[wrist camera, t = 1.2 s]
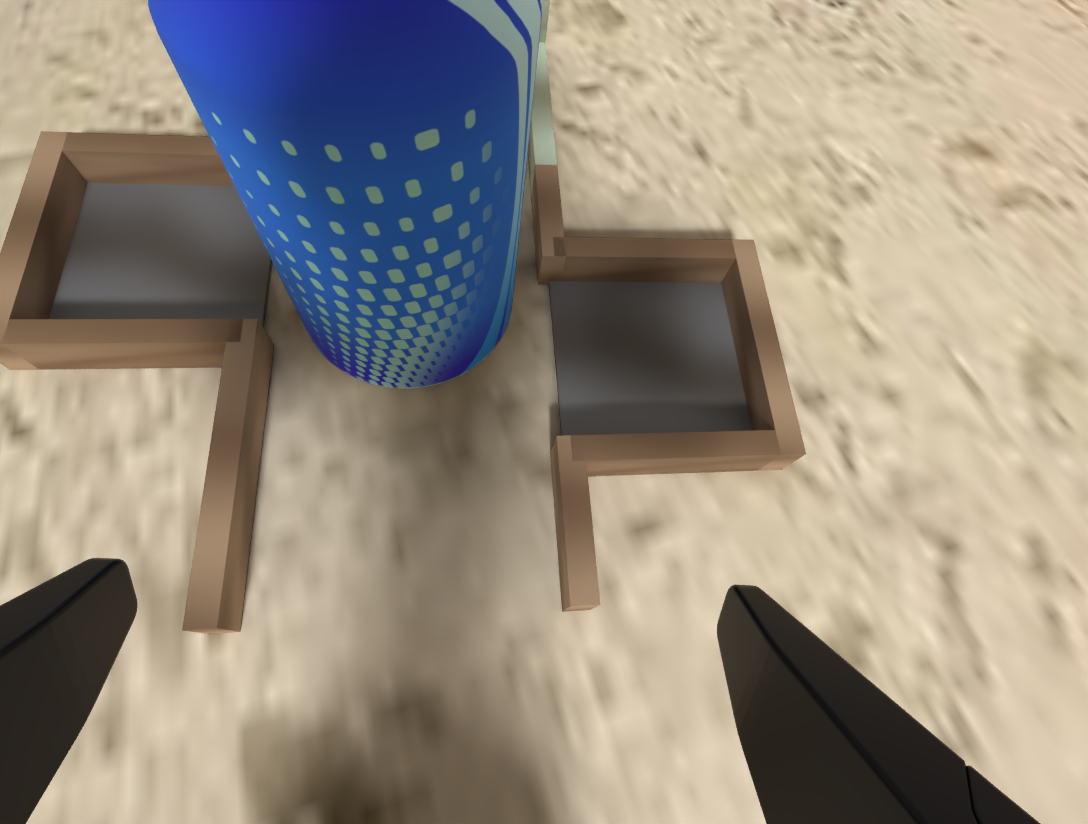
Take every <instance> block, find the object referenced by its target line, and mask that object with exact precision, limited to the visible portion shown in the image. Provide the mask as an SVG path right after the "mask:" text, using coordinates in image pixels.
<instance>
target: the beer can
mask: <svg viewBox="0 0 1088 824" xmlns="http://www.w3.org/2000/svg"><path fill="white" fill-rule="evenodd" d="M147 1H148V6H149V10H150V13H151V16H152V19H153V21H154V24H155V27H156V29H157V32H158V34H159V36H160V38H161V40H162V42H163V44H164V46H165V48H166V50H167V52H168V54H169V56H170V58H171V60H172V62H173V64H174V66H175V68H176V70H177V72H178V74H179V76H180V78H181V80H182V82H183V84H184V86H185V88H186V90H187V92H188V94H189V96H190V98H191V100H192V102H193V104H194V106H195V108H196V110H197V112H198V114H199V116H200V118H201V120H202V122H203V124H204V126H205V128H206V130H207V132H208V134H209V136H210V138H211V140H212V142H213V144H214V146H215V148H216V150H217V152H218V154H219V156H220V158H221V160H222V162H223V164H224V166H225V168H226V170H227V172H228V174H229V176H230V178H231V180H232V182H233V184H234V186H235V188H236V190H237V192H238V194H239V196H240V198H241V200H242V202H243V204H244V206H245V208H246V210H247V212H248V214H249V216H250V218H251V220H252V222H253V224H254V226H255V228H256V230H257V232H258V234H259V236H260V238H261V240H262V242H263V244H264V246H265V248H266V250H267V252H268V254H269V256H270V258H271V260H272V262H273V264H274V266H275V268H276V270H277V272H278V274H279V276H280V278H281V280H282V282H283V284H284V286H285V288H286V290H287V292H288V294H289V296H290V298H291V300H292V302H293V304H294V306H295V308H296V310H297V312H298V314H299V316H300V318H301V320H302V322H303V324H304V326H305V328H306V330H307V332H308V334H309V336H310V337H311V339H312V341H313V343H314V344H315V345H316V347H317V348H318V350H319V351H320V352H321V353H322V354H323V355H324V356H325V357H326V358H327V359H328V360H329V361H330V362H331V363H332V364H333V365H335V366H336V367H338V368H339V369H340V370H342V371H343V372H345V373H347V374H349V375H350V376H352V377H355V378H357V379H359V380H361V381H364V382H367V383H370V384H374V385H378V386H383V387H389V388H401V389H406V388H421V387H428V386H433V385H437V384H440V383H444V382H447V381H449V380H452V379H454V378H456V377H458V376H460V375H462V374H464V373H466V372H468V371H469V370H471V369H472V368H474V367H475V366H476V365H478V364H479V363H480V362H482V361H483V360H484V359H485V358H486V357H487V356H488V355H489V354H490V353H491V351H492V350H493V349H494V348H495V347H496V345H497V344H498V342H499V341H500V339H501V337H502V336H503V334H504V332H505V329H506V327H507V325H508V322H509V318H510V315H511V309H512V300H513V291H514V281H515V271H516V261H517V252H518V242H519V232H520V223H521V213H522V203H523V193H524V184H525V174H526V164H527V155H528V145H529V135H530V125H531V116H532V106H533V96H534V87H535V77H536V67H537V57H538V48H539V38H540V28H541V19H542V0H147Z"/></svg>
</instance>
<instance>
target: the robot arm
mask: <svg viewBox="0 0 1088 824" xmlns="http://www.w3.org/2000/svg"><path fill="white" fill-rule="evenodd" d="M136 612H137V598H136V594H135V591H134V587H133V583H132V580H131V576H130V573H129V569H128V566H127V564H126V563H125V562H124V561H123V560H120V559H111V558H92V559H88V560H86V561H84V562H82V563H80V564H78V565H77V566H75V567H73V568H71V569H69V570H67V571H65V572H63V573H61V574H59V575H58V576H56V577H54V578H52V579H50V580H48V581H46V582H44V583H42V584H41V585H39V586H37V587H35V588H33V589H31V590H29V591H27V592H25V593H23V594H22V595H20V596H18V597H16V598H14V599H12V600H10V601H8V602H6V603H5V604H3V605H1V606H0V824H26V822H27V820H28V819H29V817H30V815H31V814H32V812H33V810H34V809H35V807H36V805H37V804H38V802H39V800H40V799H41V797H42V795H43V794H44V792H45V790H46V788H47V787H48V785H49V783H50V782H51V780H52V778H53V777H54V775H55V773H56V772H57V770H58V768H59V767H60V765H61V763H62V762H63V760H64V758H65V757H66V755H67V753H68V751H69V750H70V748H71V746H72V745H73V743H74V741H75V740H76V738H77V736H78V734H79V733H80V731H81V729H82V727H83V726H84V724H85V722H86V720H87V718H88V716H89V714H90V712H91V710H92V708H93V706H94V704H95V702H96V700H97V698H98V696H99V694H100V692H101V690H102V687H103V685H104V683H105V681H106V679H107V677H108V675H109V672H110V670H111V668H112V666H113V664H114V662H115V660H116V657H117V655H118V653H119V651H120V649H121V647H122V644H123V642H124V640H125V638H126V636H127V634H128V632H129V629H130V627H131V625H132V623H133V621H134V618H135V616H136ZM717 637H718V642H719V647H720V652H721V657H722V662H723V666H724V671H725V676H726V681H727V685H728V690H729V695H730V700H731V705H732V709H733V714H734V719H735V723H736V727H737V731H738V735H739V739H740V742H741V745H742V749H743V752H744V755H745V758H746V761H747V764H748V767H749V771H750V774H751V777H752V780H753V783H754V786H755V789H756V792H757V795H758V799H759V802H760V805H761V808H762V811H763V814H764V817H765V820H766V823H767V824H1040V823H1039V822H1038V821H1037V820H1035V819H1034V818H1033V817H1032V816H1030V815H1029V814H1028V813H1027V812H1026V811H1024V810H1023V809H1022V808H1021V807H1019V806H1018V805H1017V804H1016V803H1015V802H1013V801H1012V800H1011V799H1010V798H1008V797H1007V796H1006V795H1005V794H1004V793H1002V792H1001V791H1000V790H999V789H998V788H996V787H995V786H994V785H993V784H992V783H990V782H989V781H988V780H987V779H986V778H984V777H983V776H982V775H981V774H980V773H979V772H977V771H976V770H975V769H974V768H973V767H971V766H966V764H965V762H964V760H963V759H962V758H961V757H959V756H958V755H957V754H956V753H955V752H953V751H952V750H951V749H950V748H949V747H947V746H946V745H945V744H944V743H943V742H942V741H940V740H939V739H938V738H937V737H936V736H934V735H933V734H932V733H931V732H930V731H929V730H927V729H926V728H925V727H924V726H923V725H921V724H920V723H919V722H918V721H917V720H916V719H914V718H913V717H912V716H911V715H910V714H908V713H907V712H906V711H905V710H904V709H902V708H901V707H900V706H899V705H898V704H897V703H895V702H894V701H893V700H892V699H891V698H889V697H888V696H887V695H886V694H885V693H884V692H882V691H881V690H880V689H879V688H878V687H876V686H875V685H874V684H873V683H872V682H871V681H869V680H868V679H867V678H866V677H865V676H863V675H862V674H861V673H860V672H859V671H857V670H856V669H855V668H854V667H853V666H852V665H850V664H849V663H848V662H847V661H846V660H844V659H843V658H842V657H841V656H840V655H839V654H837V653H836V652H835V651H834V650H833V649H831V648H830V647H829V646H828V645H827V644H826V643H824V642H823V641H822V640H821V639H820V638H818V637H817V636H816V635H815V634H814V633H812V632H811V631H810V630H809V629H808V628H807V627H805V626H804V625H803V624H802V623H801V622H799V621H798V620H797V619H796V618H795V617H794V616H792V615H791V614H790V613H789V612H788V611H786V610H785V609H784V608H783V607H782V606H780V605H779V604H778V603H777V602H776V601H775V600H773V599H772V598H771V597H770V596H769V595H767V594H766V593H765V592H764V591H763V590H761V589H760V588H759V587H757V586H751V585H733V586H731V587H730V588H729V589H728V592H727V594H726V597H725V601H724V604H723V607H722V610H721V613H720V617H719V620H718V624H717Z"/></svg>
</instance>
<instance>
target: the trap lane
mask: <svg viewBox="0 0 1088 824" xmlns="http://www.w3.org/2000/svg"><path fill="white" fill-rule="evenodd" d="M549 4H550V1H549V0H542V19H541V28H540V38H539V48H538V57H537V67H536V77H535V87H534V96H533V106H532V116H531V125H530V135H529V145H528V159H529V172H530V186H531V199H532V212H533V226H534V239H535V253H536V266H537V279H538V284H549V291H550V303H551V315H552V327H553V339H554V351H555V363H556V375H557V388H558V400H559V412H560V424H561V436H556V439H555V442H554V445H553V448H552V451H551V467H552V480H553V493H554V507H555V520H556V534H557V547H558V560H559V574H560V587H561V600H562V611H578V610H590V609H592V608H594V607H596V606H598V605H600V598H599V588H598V577H597V567H596V557H595V547H594V537H593V526H592V516H591V506H590V496H589V485H588V476H611V475H640V474H668V473H697V472H725V471H754V470H782V469H783V468H785V467H786V466H788V465H789V464H791V463H792V462H794V461H796V460H797V459H799V458H800V457H802V456H803V455H805V454H806V452H805V448H804V444H803V440H802V436H801V432H800V427H799V423H798V419H797V415H796V411H795V407H794V403H793V399H792V395H791V391H790V386H789V382H788V378H787V374H786V370H785V366H784V362H783V358H782V354H781V350H780V346H779V341H778V337H777V333H776V329H775V325H774V321H773V317H772V313H771V309H770V305H769V301H768V296H767V292H766V288H765V284H764V280H763V276H762V272H761V268H760V264H759V260H758V256H757V251H756V247H755V243H754V240H732V239H663V238H594V237H564V230H563V220H562V210H561V199H560V189H559V179H558V169H557V159H556V148H555V138H554V128H553V118H552V107H551V97H550V87H549V77H548V67H547V56H546V46H545V40H546V31H547V22H548V13H549ZM271 261H272V260H271V258H270V256H269V254H268V252H267V250H266V248H265V246H264V244H263V242H262V240H261V238H260V236H259V234H258V232H257V230H256V228H255V226H254V224H253V222H252V220H251V218H250V216H249V214H248V212H247V210H246V208H245V206H244V204H243V202H242V200H241V198H240V196H239V194H238V192H237V190H236V188H235V186H234V184H233V182H232V180H231V178H230V176H229V174H228V172H227V170H226V168H225V166H224V164H223V162H222V160H221V158H220V156H219V154H218V152H217V150H216V148H215V146H214V144H213V142H212V140H211V138H210V137H195V136H165V135H134V134H104V133H73V132H42V131H41V133H40V136H39V139H38V142H37V145H36V148H35V151H34V154H33V157H32V160H31V163H30V166H29V169H28V172H27V175H26V178H25V181H24V184H23V187H22V190H21V193H20V196H19V199H18V202H17V205H16V208H15V211H14V214H13V217H12V220H11V223H10V226H9V229H8V232H7V235H6V238H5V241H4V244H3V247H2V250H1V253H0V364H2V365H3V366H5V367H7V368H8V369H10V370H28V369H116V368H203V367H222V372H221V378H220V385H219V391H218V398H217V405H216V411H215V418H214V424H213V431H212V438H211V444H210V451H209V457H208V464H207V470H206V477H205V484H204V490H203V497H202V503H201V510H200V516H199V523H198V530H197V536H196V543H195V549H194V556H193V563H192V569H191V576H190V582H189V589H188V595H187V602H186V609H185V615H184V622H183V628H182V630H183V631H191V632H200V633H208V634H210V633H226V632H240V628H241V620H242V611H243V603H244V594H245V586H246V577H247V569H248V560H249V552H250V543H251V535H252V526H253V518H254V509H255V501H256V492H257V484H258V475H259V467H260V458H261V450H262V441H263V433H264V424H265V416H266V407H267V399H268V390H269V382H270V373H271V365H272V356H273V347H274V344H273V343H272V341H271V339H270V338H269V336H268V335H267V333H266V331H265V330H264V328H263V324H264V317H265V309H266V301H267V293H268V285H269V277H270V269H271Z"/></svg>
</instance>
